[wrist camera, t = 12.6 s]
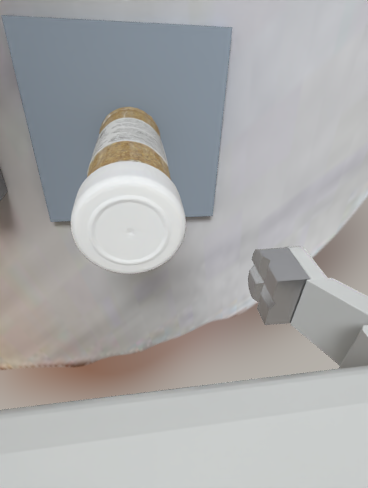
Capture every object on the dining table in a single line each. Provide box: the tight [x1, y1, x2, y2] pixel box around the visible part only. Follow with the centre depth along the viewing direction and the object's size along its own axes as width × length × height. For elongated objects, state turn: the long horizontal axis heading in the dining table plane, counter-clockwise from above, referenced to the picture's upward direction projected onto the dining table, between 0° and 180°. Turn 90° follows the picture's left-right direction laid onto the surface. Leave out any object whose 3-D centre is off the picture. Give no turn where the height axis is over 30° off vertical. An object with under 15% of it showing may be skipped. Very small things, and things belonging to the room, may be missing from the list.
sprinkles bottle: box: [71, 107, 186, 274], centre depth 17 cm, size 5×5×14 cm
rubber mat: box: [1, 15, 232, 222], centre depth 23 cm, size 14×14×1 cm
